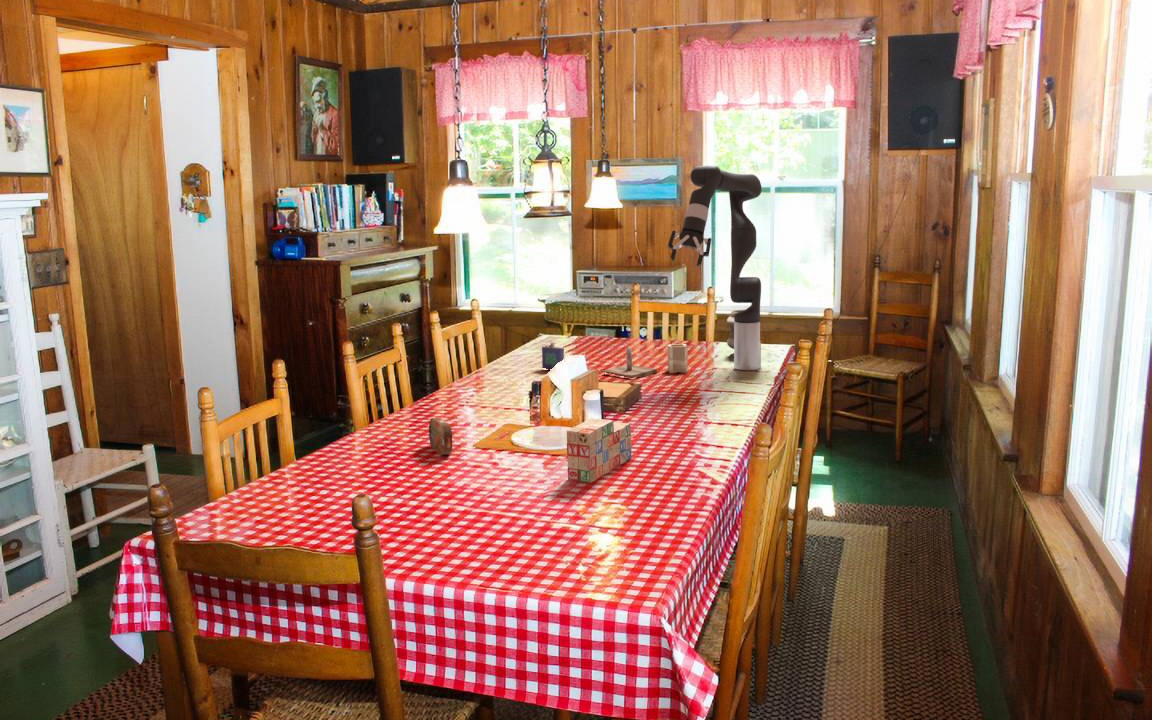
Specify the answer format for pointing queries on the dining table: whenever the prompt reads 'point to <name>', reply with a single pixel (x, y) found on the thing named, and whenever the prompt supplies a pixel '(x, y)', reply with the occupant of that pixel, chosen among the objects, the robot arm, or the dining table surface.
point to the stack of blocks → (597, 448)
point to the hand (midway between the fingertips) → (685, 263)
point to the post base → (632, 372)
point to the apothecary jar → (732, 329)
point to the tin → (440, 436)
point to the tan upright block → (677, 358)
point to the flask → (551, 355)
